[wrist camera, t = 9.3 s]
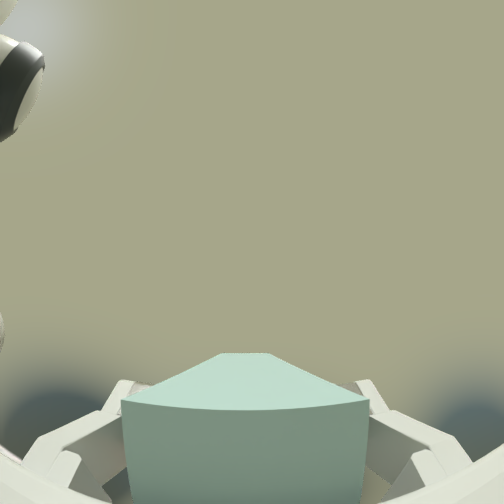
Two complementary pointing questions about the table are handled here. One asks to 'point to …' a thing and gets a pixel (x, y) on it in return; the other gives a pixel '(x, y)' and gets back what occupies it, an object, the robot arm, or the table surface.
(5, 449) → the table surface
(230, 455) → the board
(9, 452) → the table surface
